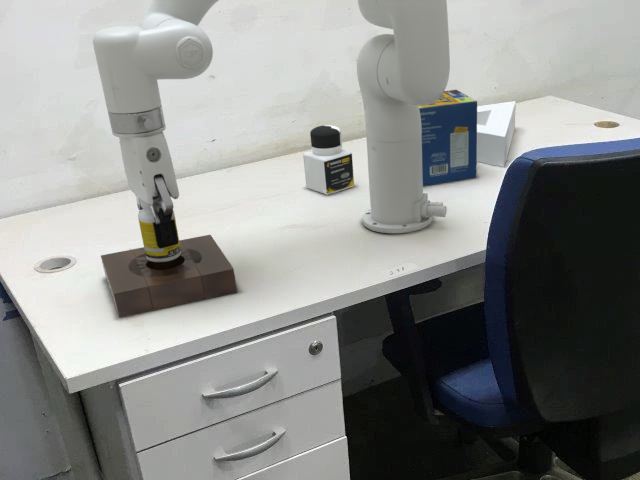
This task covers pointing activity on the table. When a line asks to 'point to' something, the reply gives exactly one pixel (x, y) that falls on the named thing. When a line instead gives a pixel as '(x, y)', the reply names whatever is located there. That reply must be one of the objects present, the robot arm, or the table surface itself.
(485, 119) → the triangle block
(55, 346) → the table surface
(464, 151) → the protein box
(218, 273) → the holder block
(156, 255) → the supplement bottle
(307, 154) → the medicine bottle
